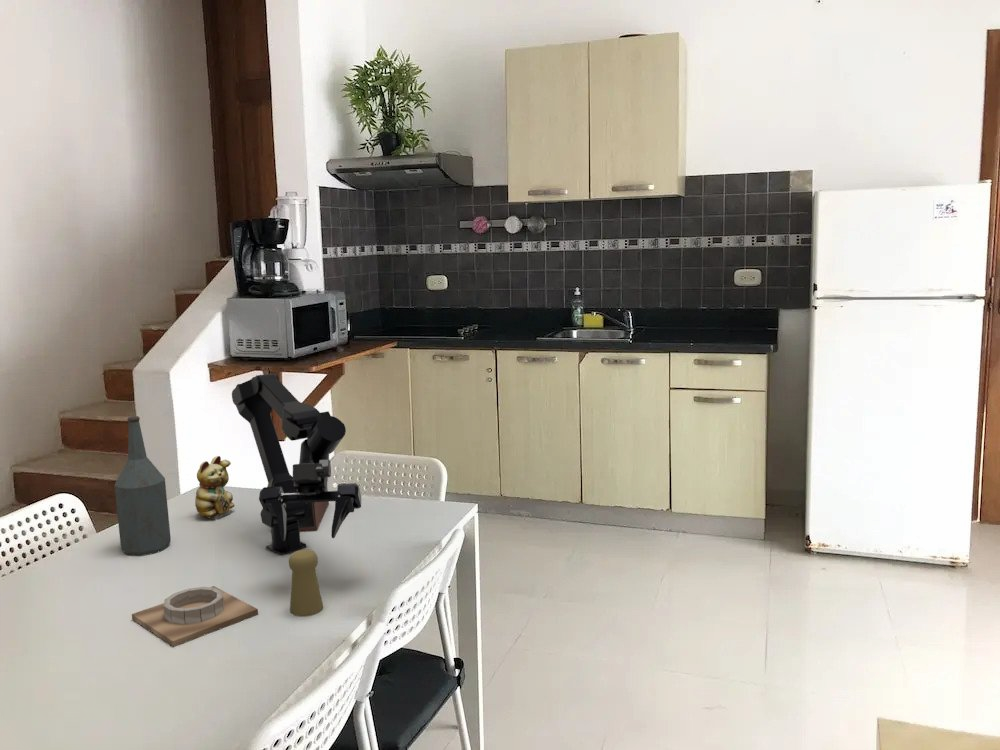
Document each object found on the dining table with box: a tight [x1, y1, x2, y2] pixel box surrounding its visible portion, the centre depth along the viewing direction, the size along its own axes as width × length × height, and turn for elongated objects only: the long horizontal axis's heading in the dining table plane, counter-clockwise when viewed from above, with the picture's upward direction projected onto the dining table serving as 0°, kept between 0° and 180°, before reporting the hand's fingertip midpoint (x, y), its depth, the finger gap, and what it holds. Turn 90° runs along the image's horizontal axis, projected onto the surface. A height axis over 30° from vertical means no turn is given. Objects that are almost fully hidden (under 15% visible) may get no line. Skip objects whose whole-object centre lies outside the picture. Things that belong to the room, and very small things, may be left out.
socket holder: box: [131, 585, 259, 647], centre depth 152 cm, size 16×16×4 cm
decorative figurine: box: [194, 455, 235, 520], centre depth 208 cm, size 10×8×15 cm
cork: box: [288, 549, 324, 617], centre depth 153 cm, size 6×6×11 cm
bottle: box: [114, 415, 172, 556], centre depth 185 cm, size 10×10×30 cm
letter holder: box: [298, 487, 330, 533], centre depth 204 cm, size 10×20×14 cm, turn 3°
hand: (308, 538), depth 157 cm, fingers open, 9 cm apart
